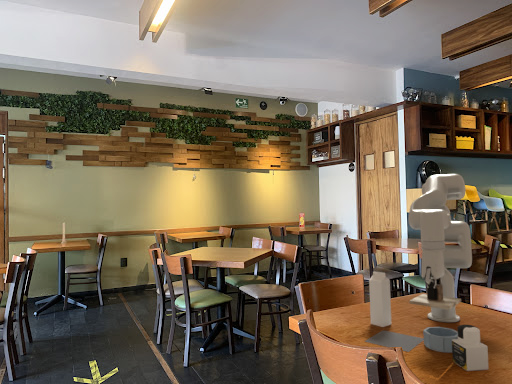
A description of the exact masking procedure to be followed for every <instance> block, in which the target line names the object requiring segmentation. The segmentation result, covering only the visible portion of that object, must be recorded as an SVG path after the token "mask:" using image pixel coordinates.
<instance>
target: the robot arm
mask: <svg viewBox="0 0 512 384" xmlns="http://www.w3.org/2000/svg"><path fill="white" fill-rule="evenodd" d="M421 193H422V195H420V196H419V197H418V198H416V199H415V200H413V202H412V203H411V204H410V207H409V212H408V224H409V225H408V226H410V228H411V229H413V230H416V231H418V230H419V231H420V243H421V245H420V246H421V249H420V250H421V251H422V253H421V277H422V279H425V280H424V281H425V282H426V293H427V292H428V299H431V300H438V290H437V288H436V284H438V285H443V296H444V297H452V298H456V297H455V296H456V294H455V292H456V291H455V279H454V276H453V274H452V273H451V272H450V270H449V269H468V268H470V267H471V266H472V265H473V264H472V263H473V254H472V253H473V252H472V236H471V235H472V234H471V229H470V228H471V227H470V225H469V224H468V222H465V221H464V220H463V221H461V220H459V221H458V220H452V216H451V211H450V208H449V207H448V206H447V205H446V204H447V201H448V200H449V201H453V200H454V201H455V200H462V199H464V197H465V196H466V184H465V180H464V178H463V176H462V175H460V174H459V173H447V174H444V173H443V174H433V175H430V176H428V178H427V179H426V180H425V183H423V184H422V185H421ZM446 243H447V245H446ZM449 243H450V244H451V243H452V244H458V245H448V244H449ZM430 309H431V310H430V312H429V313H427V318H428V319H430V320H432V321H435V322H441V323H456V322H459V321H460V320H461V317H460V315H458V314H456V313H457V312H456V306H454V307H453V308H451V309H450V310H448V309H441V308H435V307H430Z"/></svg>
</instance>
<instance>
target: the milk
mask: <svg viewBox="0 0 512 384" xmlns="http://www.w3.org/2000/svg"><path fill="white" fill-rule="evenodd" d="M368 285H369V286H368V287H369V309H370V310H369V313H370V325H373V326H377V327H381V328H384V327H385V328H386V327H387V326H391V325H392V308H391V307H392V306H391V304H392V303H391V280H390V278H388V277H387V276H386V272H382V271H381V272H380V271H372V275H371V277H370V278H369V282H368Z"/></svg>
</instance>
